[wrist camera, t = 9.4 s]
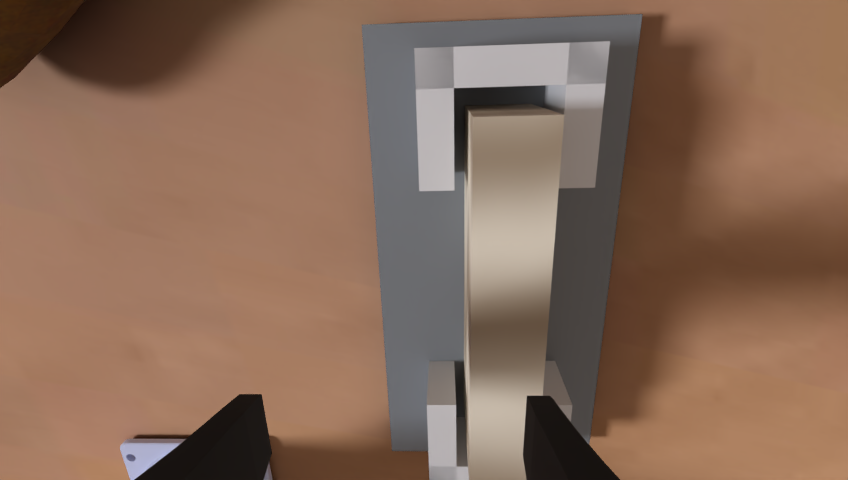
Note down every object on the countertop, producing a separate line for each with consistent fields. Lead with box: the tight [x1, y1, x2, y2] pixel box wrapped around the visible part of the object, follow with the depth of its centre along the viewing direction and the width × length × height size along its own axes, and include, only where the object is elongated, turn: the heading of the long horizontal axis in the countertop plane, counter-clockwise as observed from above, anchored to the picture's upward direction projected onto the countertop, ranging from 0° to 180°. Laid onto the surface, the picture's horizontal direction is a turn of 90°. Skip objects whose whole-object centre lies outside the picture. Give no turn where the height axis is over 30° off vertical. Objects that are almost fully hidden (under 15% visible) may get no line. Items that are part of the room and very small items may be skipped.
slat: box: [464, 104, 564, 480], centre depth 17 cm, size 14×2×5 cm, turn 2°
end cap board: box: [362, 14, 642, 480], centre depth 19 cm, size 20×10×4 cm, turn 2°
